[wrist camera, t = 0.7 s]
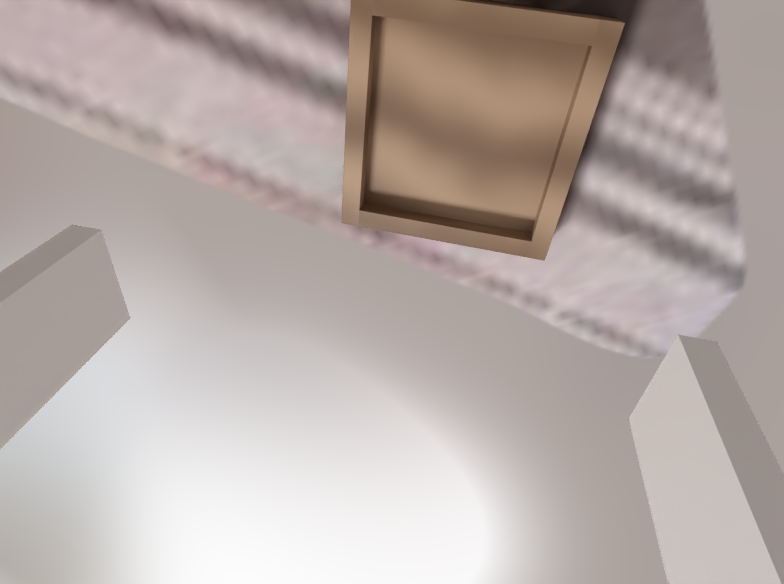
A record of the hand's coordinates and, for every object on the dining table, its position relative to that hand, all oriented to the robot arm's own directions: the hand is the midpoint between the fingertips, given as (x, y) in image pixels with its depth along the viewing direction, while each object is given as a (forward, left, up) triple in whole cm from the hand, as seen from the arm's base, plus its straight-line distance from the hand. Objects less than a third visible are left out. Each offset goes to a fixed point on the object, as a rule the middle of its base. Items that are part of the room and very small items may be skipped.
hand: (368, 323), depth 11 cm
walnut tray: (+2, +1, -23) cm, 23 cm away
